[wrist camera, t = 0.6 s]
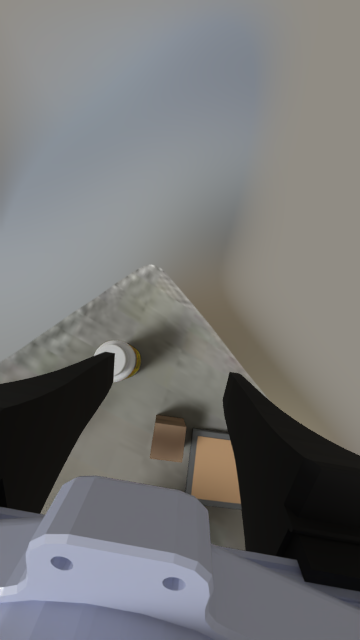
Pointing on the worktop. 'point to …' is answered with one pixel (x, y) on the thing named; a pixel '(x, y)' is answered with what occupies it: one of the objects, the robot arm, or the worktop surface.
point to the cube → (168, 439)
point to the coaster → (213, 470)
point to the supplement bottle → (122, 358)
